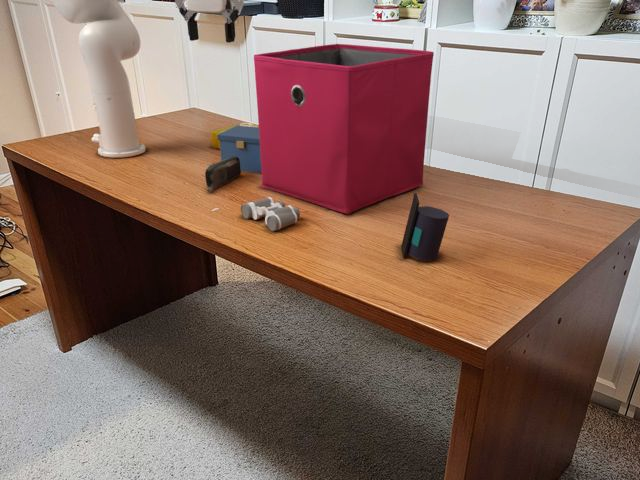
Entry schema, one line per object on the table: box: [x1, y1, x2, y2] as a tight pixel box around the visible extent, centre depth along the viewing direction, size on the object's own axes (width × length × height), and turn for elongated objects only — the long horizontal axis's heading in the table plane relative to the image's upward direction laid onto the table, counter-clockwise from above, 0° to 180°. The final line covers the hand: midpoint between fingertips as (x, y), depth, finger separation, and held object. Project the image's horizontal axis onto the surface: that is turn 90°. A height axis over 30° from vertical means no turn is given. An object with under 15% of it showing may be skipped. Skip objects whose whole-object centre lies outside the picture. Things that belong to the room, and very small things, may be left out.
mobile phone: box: [204, 156, 242, 192], centre depth 139 cm, size 5×3×15 cm
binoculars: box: [240, 196, 301, 232], centre depth 120 cm, size 12×8×4 cm, turn 41°
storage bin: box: [253, 43, 435, 215], centre depth 131 cm, size 28×29×28 cm
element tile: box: [210, 122, 259, 150], centre depth 168 cm, size 15×15×5 cm
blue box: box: [217, 126, 262, 174], centre depth 150 cm, size 13×11×8 cm
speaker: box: [400, 192, 450, 262], centre depth 104 cm, size 8×6×10 cm
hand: (212, 41), depth 141 cm, fingers open, 9 cm apart
